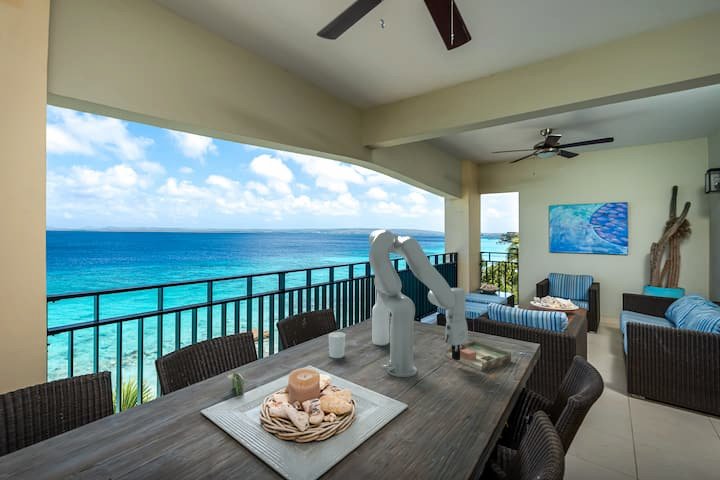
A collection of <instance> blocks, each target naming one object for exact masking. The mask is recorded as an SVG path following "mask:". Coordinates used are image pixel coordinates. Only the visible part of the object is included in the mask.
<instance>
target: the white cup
mask: <svg viewBox="0 0 720 480" xmlns="http://www.w3.org/2000/svg"><path fill="white" fill-rule="evenodd" d="M345 348H346V333H344V332H341V331H333V332H330V333H329V334H328V350H329V357H330V358H333V359H342V358H343V357H345Z"/></svg>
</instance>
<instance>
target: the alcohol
mask: <svg viewBox="0 0 720 480" xmlns="http://www.w3.org/2000/svg"><path fill="white" fill-rule="evenodd" d="M375 299H376V301H375V304H374V305H373V307H372V312H371V314H372V315H371V316H372V318H371V319H372V325H371V326H372V327H371V329H372V331H371V333H372V334H371V335H372V337H371V338H372V340H371V341H372V344H373V345H376V346H381V347H382V346H387V345H388V344H390V312H389V311H388V310H387V309H386V307H385V306H384V304H383V302H382V300H381V298H380V296H379V294H378V292H377V291H376V298H375Z"/></svg>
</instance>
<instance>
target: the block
mask: <svg viewBox="0 0 720 480" xmlns="http://www.w3.org/2000/svg"><path fill="white" fill-rule="evenodd" d="M460 358H463V359H465V360H468V361H470V360H473V359H476V352H475V351H473V350H470V349H463V350H460Z"/></svg>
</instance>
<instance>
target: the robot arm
mask: <svg viewBox="0 0 720 480" xmlns="http://www.w3.org/2000/svg"><path fill="white" fill-rule="evenodd" d="M368 244H369V245H370V247H369V251H368V261H369V265H370V268H371V270H372V272H373V274H374V279H373V282H374V287H375V289H376V293H377V292H378V294H379V296H380V298H381V300H382V302H383V304H384V306H385V307H386V309H387V310H388V311H389V314H391V320H390V322H389V350H390V351H389V360H387V363H386V364H383V365H380V370H381V371H386V373H387V374H389V375H390V376H393V377H396V378H410V377H414V376H415V375H417V371H418V370H417V367H416V366H415V365H414V322H415V321H414V320H415V315H416V314H415V313H416V307H415V303H414V302H413V300H412V299H411V298H410V297H409V296H406V295H405V294H403V293H402V291H401V290H402V287H403V285H402V281H401V279H400V276H399V274H398V273H397V271H396V269H395V267H394V264H393V261H392V258H391V256H390V254H393V255H399V256H402V257H403V259H404V260H405V262H406V264H407V265H408V266H409V269H410V270H411V272H412V274H413V275H414V277H416V278H417V279H418V280H419V281H420V282H422V284H424V285H425V286H427V288H428V289H429V291H428V293H427V298H428V301H429V302H430V303H431V304H432V305H435V306H437V307H439V308H441V309H443V310H447V321H446V323H445V330H444V338H445V340H444V341H445V343H446V348H447V349H449V348H451V350H452V359H451V360H453V359H454V360H453V361H455V360H457V361H456V362H458V360H460V350H461V347H462V345H463V344H466V343H469V330H468V322H467V319H466V290H465V289H463V288H460V287H450V285H449V283H448V282H447V281H446V279H445V278H444V277H443V275H442V274H441V273H439V271H438V270H437V269H436V267H435V266H434V265H433V264H432V263H431V261H430V259H429V258H428V256H427V254H426V253H425V251H424V250H423V248H422V246H421V244H420V243H419V240H417V238H415V237H413V236H410V235H409V236H408V235H407V236H405V235H404V236H402V235H398V234H393V232H392V231H390V230H388V229H376V230H374V231H372V232H371V233H370V234H369V236H368Z"/></svg>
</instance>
